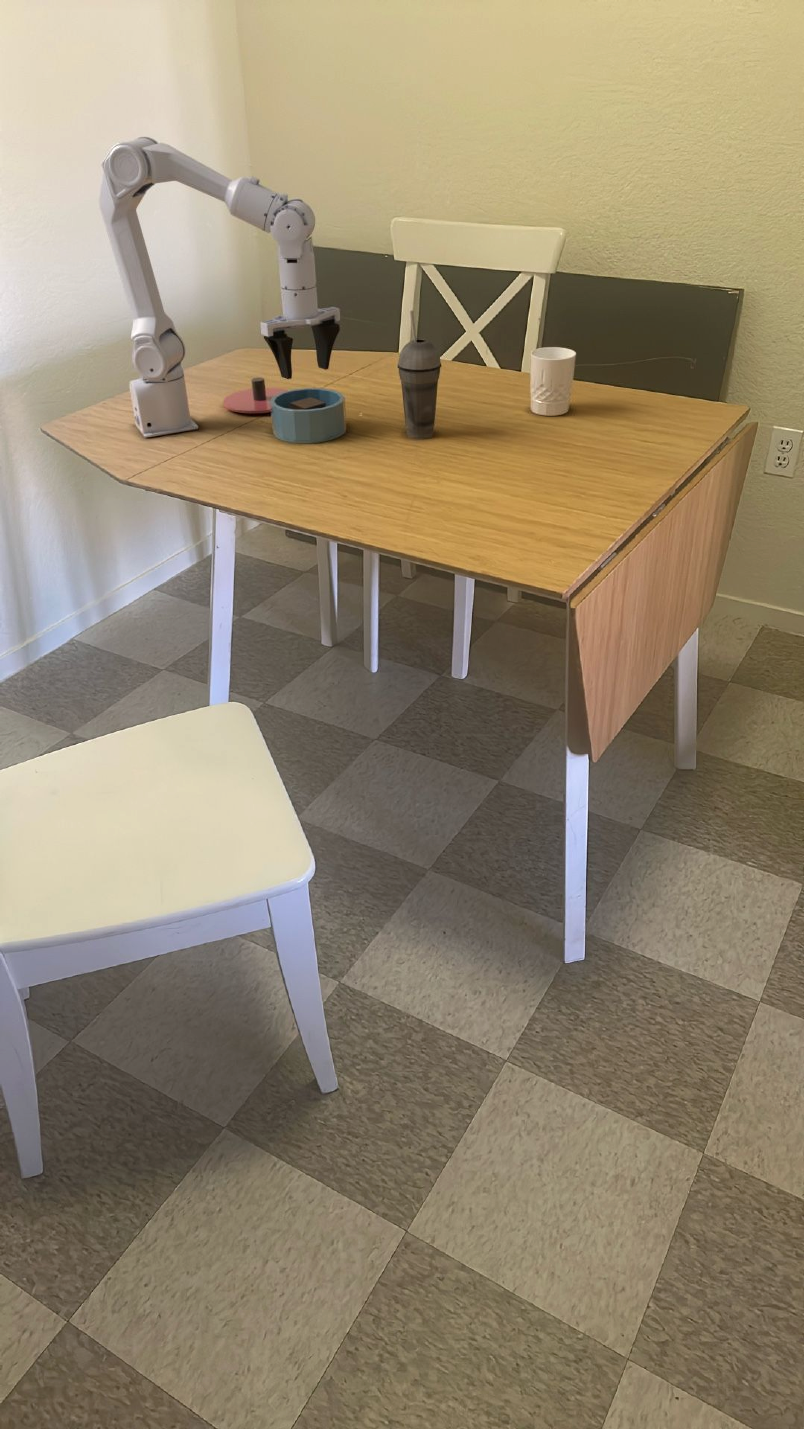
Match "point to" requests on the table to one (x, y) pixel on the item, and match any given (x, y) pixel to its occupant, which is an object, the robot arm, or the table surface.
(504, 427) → the table surface
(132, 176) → the robot arm
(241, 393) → the lid
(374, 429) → the table surface
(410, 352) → the beverage cup
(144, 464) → the table surface
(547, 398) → the white cup
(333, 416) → the bowl
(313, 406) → the block
